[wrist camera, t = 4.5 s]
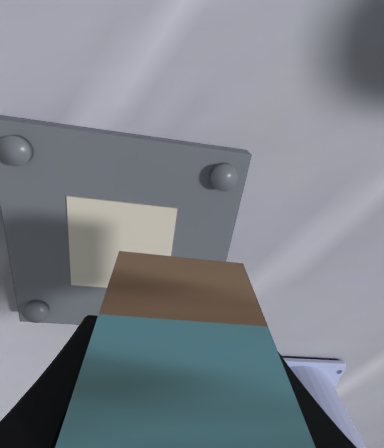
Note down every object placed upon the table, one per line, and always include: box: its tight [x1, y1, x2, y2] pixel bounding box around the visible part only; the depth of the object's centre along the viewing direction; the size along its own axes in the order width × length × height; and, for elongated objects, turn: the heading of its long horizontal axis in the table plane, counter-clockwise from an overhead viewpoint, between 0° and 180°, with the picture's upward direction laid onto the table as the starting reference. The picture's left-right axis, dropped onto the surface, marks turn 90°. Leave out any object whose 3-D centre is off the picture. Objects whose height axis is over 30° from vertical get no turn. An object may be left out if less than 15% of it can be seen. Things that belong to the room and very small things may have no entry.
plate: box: [0, 115, 252, 325], centre depth 17 cm, size 13×13×2 cm
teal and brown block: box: [55, 251, 316, 448], centre depth 8 cm, size 4×4×6 cm
